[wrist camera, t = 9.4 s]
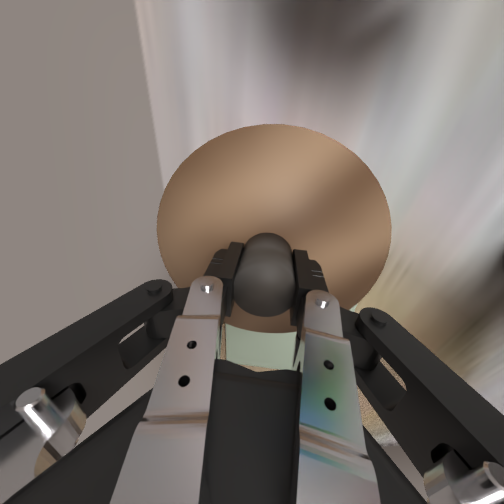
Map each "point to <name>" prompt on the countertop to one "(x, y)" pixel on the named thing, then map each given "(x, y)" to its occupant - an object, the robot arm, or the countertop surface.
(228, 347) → the mat
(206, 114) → the countertop surface
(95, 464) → the robot arm
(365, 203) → the lid
